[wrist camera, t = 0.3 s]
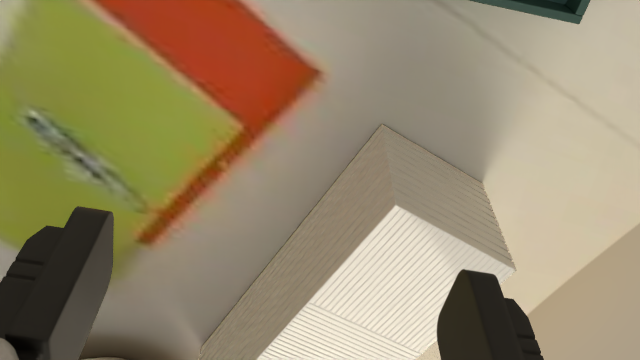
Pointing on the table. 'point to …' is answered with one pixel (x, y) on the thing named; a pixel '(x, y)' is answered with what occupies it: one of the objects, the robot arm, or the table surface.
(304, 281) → the stack of papers
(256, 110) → the table surface
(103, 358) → the table lamp
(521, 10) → the tray
